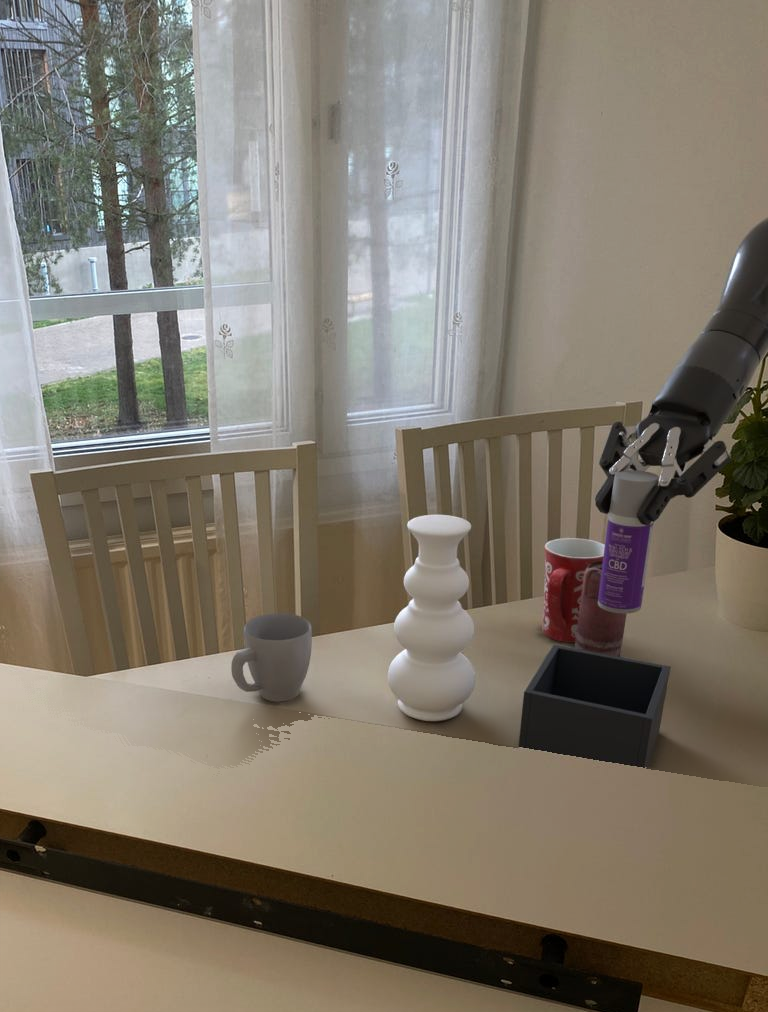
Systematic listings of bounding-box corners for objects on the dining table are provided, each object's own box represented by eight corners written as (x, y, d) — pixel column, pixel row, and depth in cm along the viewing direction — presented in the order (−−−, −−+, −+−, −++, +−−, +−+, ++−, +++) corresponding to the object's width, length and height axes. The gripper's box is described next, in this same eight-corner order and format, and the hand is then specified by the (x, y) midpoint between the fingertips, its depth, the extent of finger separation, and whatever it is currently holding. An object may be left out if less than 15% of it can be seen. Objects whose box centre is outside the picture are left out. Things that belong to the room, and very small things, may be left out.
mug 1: (282, 670, 127) (280, 607, 123) (326, 692, 121) (326, 626, 117) (214, 699, 120) (210, 633, 116) (257, 724, 114) (254, 655, 110)
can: (563, 655, 129) (574, 563, 123) (600, 648, 131) (612, 556, 125) (590, 674, 124) (603, 578, 118) (628, 665, 126) (642, 571, 120)
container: (598, 612, 102) (615, 480, 95) (596, 596, 106) (612, 469, 99) (643, 615, 101) (662, 482, 94) (639, 599, 105) (657, 470, 98)
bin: (659, 732, 110) (670, 666, 106) (640, 790, 99) (652, 719, 96) (546, 707, 116) (553, 644, 112) (517, 760, 105) (523, 691, 102)
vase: (372, 698, 119) (376, 514, 109) (445, 682, 123) (456, 503, 112) (411, 738, 110) (420, 542, 99) (489, 720, 114) (506, 529, 103)
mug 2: (551, 615, 142) (560, 533, 136) (608, 629, 137) (620, 544, 131) (514, 643, 133) (522, 557, 128) (574, 660, 128) (585, 570, 122)
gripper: (636, 356, 101) (553, 481, 100) (760, 371, 91) (669, 511, 90) (658, 398, 106) (579, 518, 105) (778, 417, 96) (691, 550, 95)
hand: (621, 514), depth 97 cm, fingers closed on container, 4 cm apart
